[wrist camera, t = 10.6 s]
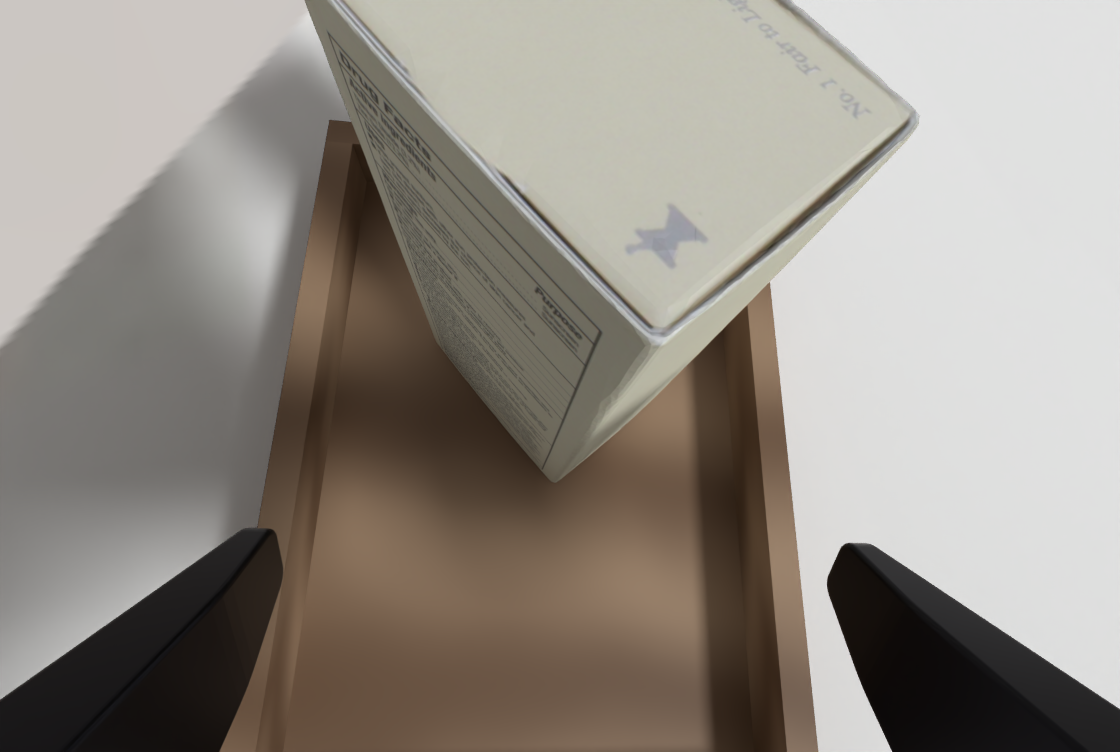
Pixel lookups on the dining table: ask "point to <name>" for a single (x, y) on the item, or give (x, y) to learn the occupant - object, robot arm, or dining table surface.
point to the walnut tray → (514, 540)
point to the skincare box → (599, 181)
